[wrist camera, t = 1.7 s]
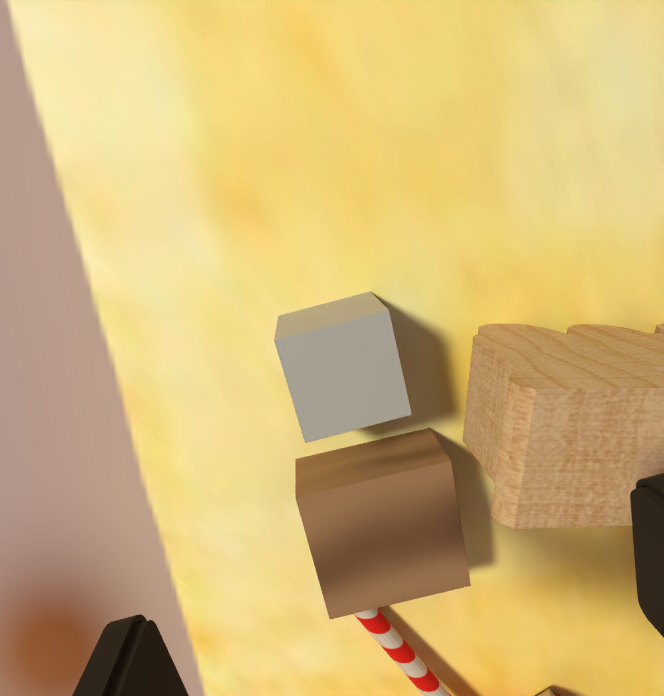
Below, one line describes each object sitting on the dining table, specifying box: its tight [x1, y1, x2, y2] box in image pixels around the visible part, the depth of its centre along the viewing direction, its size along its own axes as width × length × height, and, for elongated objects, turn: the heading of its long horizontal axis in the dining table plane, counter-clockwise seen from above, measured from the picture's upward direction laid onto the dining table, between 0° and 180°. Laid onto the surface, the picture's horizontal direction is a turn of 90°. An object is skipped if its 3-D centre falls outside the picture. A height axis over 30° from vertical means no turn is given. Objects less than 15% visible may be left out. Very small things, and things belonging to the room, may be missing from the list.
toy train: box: [463, 324, 664, 529], centre depth 21 cm, size 6×17×10 cm, turn 89°
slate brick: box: [274, 292, 412, 443], centre depth 22 cm, size 5×5×5 cm
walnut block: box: [296, 428, 471, 619], centre depth 26 cm, size 8×8×4 cm
